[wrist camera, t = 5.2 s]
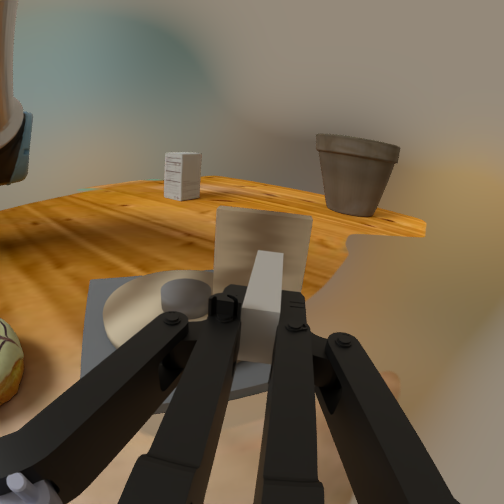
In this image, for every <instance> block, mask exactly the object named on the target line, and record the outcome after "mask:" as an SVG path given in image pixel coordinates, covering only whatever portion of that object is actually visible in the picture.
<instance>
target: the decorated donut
mask: <svg viewBox="0 0 504 504" xmlns="http://www.w3.org/2000/svg"><path fill="white" fill-rule="evenodd" d="M23 357H24V353H23V351H22V348H21V345H20V341H19V339H18V337H17V335H16V333H15V332H14V330H13V329H12V328H11V327H10V325H9V324H8V323H6V322H5V321H4V320H3V319H1V318H0V406H1V405H2V404H3V403H4V402H7V401H8V400H10V399H11V398H12V396H14V395H15V394H16V393H17V391H18V389H19V383H20V381H21V378H22V375H23V371H24V364H23Z"/></svg>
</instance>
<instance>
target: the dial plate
mask: <svg viewBox="0 0 504 504" xmlns="http://www.w3.org/2000/svg"><path fill="white" fill-rule="evenodd" d="M205 271H207V272H213V273H214V270H205ZM138 277H141V276H133V277H120V278H107V279H94V280H90V285H89V292H88V298H87V306H86V314H85V322H84V332H83V343H82V356H81V375H80V379H81V378H82V377H83V376H85V375H86V374H87V373H88V372H90V371H91V370H92V369H93V368H94V367H96V366H97V365H98V364H99V363H100V362H102V361H103V360H104V359H105V358H107V357H108V356H109V355H110V354H112V353H113V352H114V351H115V350H116V348H115V347H114V346H113V345H112V343H111V342H110V340H109V338H108V337H107V334H106V331H105V327H104V322H103V308H104V305H105V303H106V301H107V299H108V298H109V296H110V295H111V294H112V293H113V292H114V291H115V290H116V289H118V288H119V287H120V286H122V285H123V284H125V283H127V282H129V281H131V280H133V279H136V278H138ZM270 369H271V364H264V363H256V362H249V361H240V362H238V363H236V370H235V374H234V379H233V383H232V387H231V391H230V395H229V400H234V399H239V398H243V397H246V396H251V395H255V394H259V393H262V392H266V391H268V385H269V384H268V380H269V374H270ZM175 390H176V388H175V389H174V390H173V391H172V393H171V394H170V395H169V396H168V397H167V399H166V400H165V401H164V402H163V403H162V404H161V405H160V407H159V408H158V409H157V410H156V411H155V412H154V414H159V413H166V410H167V408H168V406H169V403H170V401H171V399H172V396H173V394H174V392H175ZM229 400H228V401H229Z"/></svg>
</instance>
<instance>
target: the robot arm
mask: <svg viewBox="0 0 504 504" xmlns="http://www.w3.org/2000/svg"><path fill="white" fill-rule="evenodd" d="M17 5H18V0H0V186H1V185H10V184H11V183H15V182H20V181H22V180H24V179H25V178H26V176H27V174H28V163H29V149H30V139H31V130H32V122H33V115H32V114H31V113H28V112H23V107H22V105H21V103H20V102H19V101H18V100H17V99H16V98H14V97H13V44H14V31H15V20H16V12H17ZM282 273H283V253H278V252H270V251H262V250H258V252H257V255H256V259H255V263H254V266H253V270H252V273H251V277H250V280H249V284H248V286H242V285H235V284H230V285H228V286H227V287H225V288H224V291H223V293H216V294H214V295H211V296H210V297H209V298H208V317H207V319H206V320H203V321H191V322H188V317H187V316H186V315H185V314H183V313H181V312H177V311H168V312H164V313H162V314H160V315H158V316H157V317H156V318H155V319H153V320H152V321H151V322H150V323H148V324H147V325H146V326H145V327H144V328H142V329H141V330H140V331H139V332H137V333H136V334H135V335H134V336H132V337H131V338H130V339H129V340H127V341H126V342H125V343H124V344H123V345H121V346H120V347H119V348H118V349H116V350H115V351H114V352H113V353H112V354H110V355H109V356H108V357H107V358H105V359H104V360H103V361H102V362H100V363H99V364H98V365H97V366H96V367H94V368H93V369H92V370H91V371H90V372H88V373H87V374H86V375H85V376H83V377H82V378H81V379H80V380H79V381H77V382H76V383H75V384H74V385H72V386H71V387H70V388H69V389H68V390H66V391H65V392H64V393H63V394H62V395H60V396H59V397H58V398H57V399H56V400H54V401H53V402H52V403H51V404H49V405H48V406H47V407H46V408H45V409H43V410H42V411H41V412H40V413H39V414H37V415H36V416H35V417H34V418H33V419H31V420H30V421H29V422H28V423H27V424H25V425H24V426H23V427H22V428H21V429H20V430H18V431H16V432H14V433H11V434H8V435H6V436H3V437H0V504H67V503H69V502H70V501H72V500H73V499H74V498H76V497H77V496H79V495H80V494H81V493H82V492H83V491H84V490H85V489H86V488H87V487H88V486H89V485H90V484H91V483H92V482H93V481H94V480H95V479H96V478H97V477H98V475H99V474H100V473H101V472H102V471H103V470H104V469H105V468H106V467H107V466H108V464H109V463H110V462H111V461H112V460H113V459H114V458H115V457H116V456H117V454H118V453H119V452H120V451H121V450H122V449H123V448H124V447H125V445H126V444H127V443H128V442H129V441H130V440H131V439H132V438H133V436H134V435H135V434H136V433H137V432H138V431H139V430H140V429H141V427H142V426H143V425H144V424H145V422H147V420H148V419H149V418H150V417H151V416H152V415H153V414H154V412H155V411H156V410H157V409H158V408H159V407H160V405H161V404H162V403H163V402H164V401H165V400H166V399H167V397H168V396H169V395H170V394H171V393H172V391H173V390H174V389H175V388H176V390H175V392H174V394H173V396H172V399H171V401H170V403H169V406H168V408H167V410H166V413H165V415H164V417H163V420H162V422H161V424H160V427H159V429H158V431H157V434H156V436H155V438H154V441H153V443H152V445H151V448H150V450H149V452H148V453H147V454H142V455H141V456H140V457H139V458H138V459H137V461H136V463H135V465H134V467H133V469H132V472H131V474H130V476H129V478H128V481H127V483H126V485H125V488H124V490H123V492H122V495H121V497H120V499H119V502H118V504H203V502H204V497H205V493H206V489H207V485H208V481H209V477H210V473H211V469H212V465H213V461H214V457H215V453H216V449H217V445H218V441H219V437H220V433H221V429H222V424H223V420H224V416H225V412H226V408H227V404H228V400H229V395H230V391H231V387H232V383H233V379H234V374H235V370H236V363H237V360H242V361H249V362H256V363H264V364H271V369H270V374H269V380H268V384H269V385H268V394H267V403H266V412H265V420H264V428H263V436H262V444H261V452H260V459H259V467H258V474H257V481H256V488H255V495H254V502H253V504H324V487H323V484H322V483H321V482H319V480H318V472H317V432H316V408H315V393H316V396H317V398H318V401H319V404H320V406H321V409H322V411H323V414H324V416H325V419H326V422H327V424H328V427H329V429H330V432H331V435H332V437H333V440H334V442H335V445H336V448H337V450H338V453H339V455H340V458H341V461H342V463H343V466H344V468H345V471H346V474H347V476H348V479H349V482H350V484H351V487H352V489H353V492H354V495H355V497H356V500H357V502H358V504H460V503H459V502H458V501H457V500H456V499H454V498H453V496H452V494H451V492H450V490H449V489H448V487H447V485H446V484H445V482H444V480H443V478H442V476H441V474H440V473H439V471H438V469H437V467H436V466H435V464H434V462H433V460H432V459H431V457H430V455H429V454H428V452H427V450H426V448H425V447H424V445H423V443H422V442H421V440H420V438H419V437H418V435H417V433H416V431H415V430H414V428H413V427H412V425H411V424H410V422H409V420H408V418H407V417H406V415H405V413H404V412H403V410H402V409H401V407H400V405H399V404H398V402H397V400H396V399H395V397H394V396H393V394H392V392H391V391H390V389H389V388H388V386H387V384H386V383H385V381H384V380H383V378H382V377H381V375H380V373H379V372H378V370H377V369H376V367H375V366H374V364H373V363H372V361H371V360H370V358H369V356H368V355H367V353H366V352H365V350H364V349H363V347H362V346H361V344H360V343H359V341H358V340H357V339H356V338H355V337H354V336H352V335H350V334H347V333H341V332H337V333H333V334H331V335H330V336H329V337H328V339H325V338H322V337H319V336H317V335H315V334H313V333H312V332H311V331H310V327H309V326H308V324H307V322H306V309H305V297H304V296H303V295H302V294H301V293H300V292H295V291H287V290H282ZM237 356H238V358H237Z"/></svg>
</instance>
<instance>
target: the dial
mask: <svg viewBox="0 0 504 504" xmlns="http://www.w3.org/2000/svg"><path fill="white" fill-rule="evenodd" d="M312 221H313V219H312V217H311V216H306V215H298V214H290V213H282V212H274V211H265V210H257V209H248V208H238V207H229V206H219V207H218V208H217V215H216V233H215V253H214V273H213V272H207V271H197V270H173V271H163V272H157V273H152V274H148V275H145V276H141V277H138V278H136V279H133V280H131V281H129V282H127V283H125V284H123V285H122V286H120V287H119V288H118V289H116V290H115V291H114V292H113V293H112V294H111V295H110V296H109V298H108V299H107V301H106V303H105V305H104V308H103V322H104V327H105V331H106V334H107V337H108V338H109V340H110V342H111V343H112V345H113V346H114V347H115V348H116V349H118V348H119V347H120V346H121V345H123V344H124V343H125V342H126V341H127V340H129V339H130V338H131V337H132V336H134V335H135V334H136V333H137V332H139V331H140V330H141V329H142V328H144V327H145V326H146V325H147V324H148V323H150V322H151V321H152V320H153V319H155V318H156V317H157V316H158V315H160V314H162V313H164V312H168V311H177V312H181V313H183V314H185V315H186V316H187V317H188V322H191V321H203V320H206V319H207V317H208V298H209V297H210V296H211V295H214V294H216V293H223V291H224V288H225V287H227V286H228V285H230V284H235V285H242V286H248V284H249V280H250V277H251V273H252V270H253V266H254V263H255V259H256V255H257V252H258V250H262V251H270V252H278V253H283V273H282V290H287V291H295V292H300V293H301V289H302V283H303V277H304V271H305V266H306V260H307V254H308V247H309V241H310V235H311V228H312ZM237 358H238V356H237ZM240 361H242V360H237V363H238V362H240Z"/></svg>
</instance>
